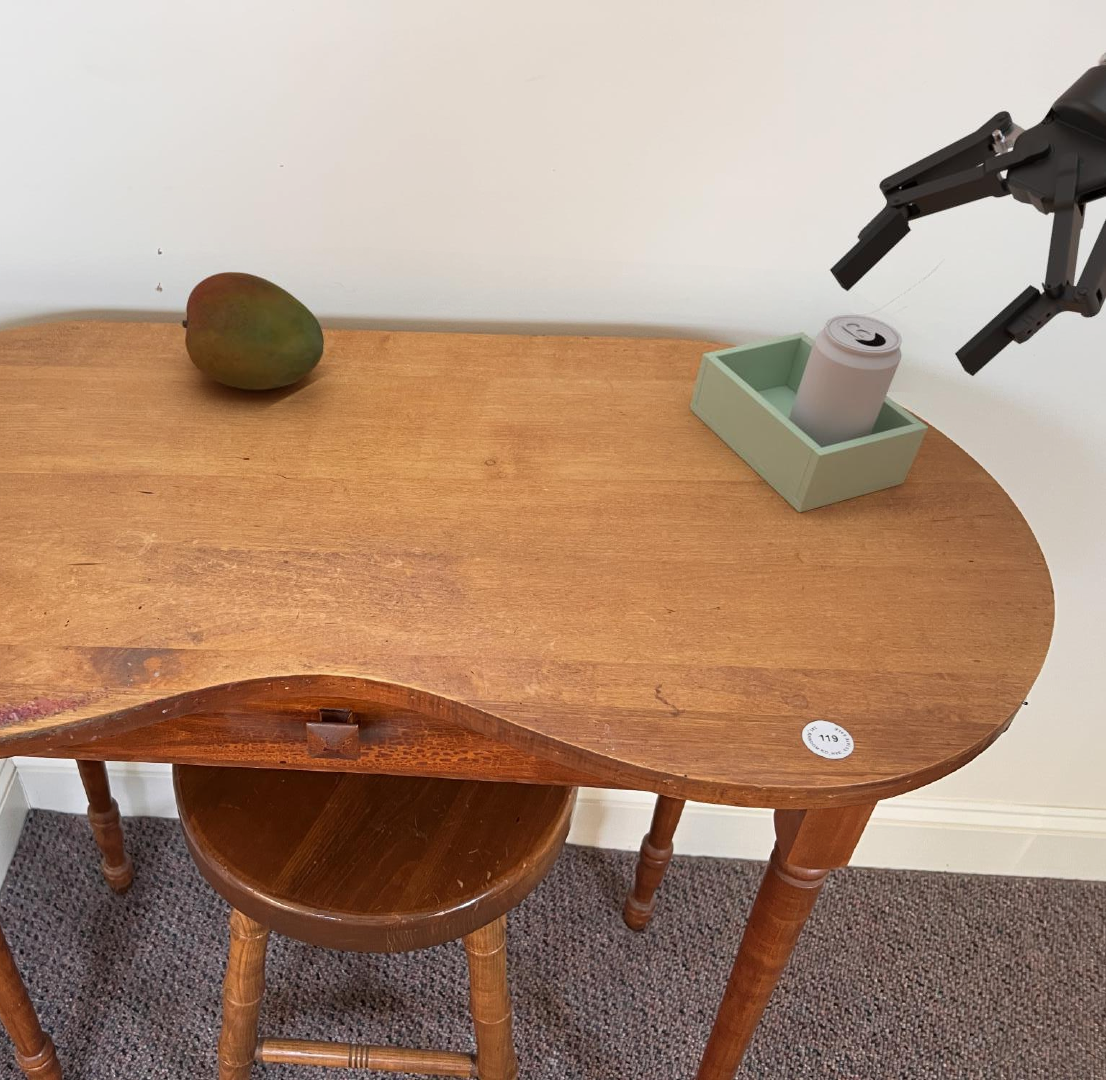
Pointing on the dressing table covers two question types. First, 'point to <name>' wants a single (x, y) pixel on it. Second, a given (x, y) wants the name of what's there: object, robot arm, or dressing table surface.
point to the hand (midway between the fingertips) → (897, 320)
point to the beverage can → (846, 379)
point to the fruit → (250, 332)
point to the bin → (779, 445)
